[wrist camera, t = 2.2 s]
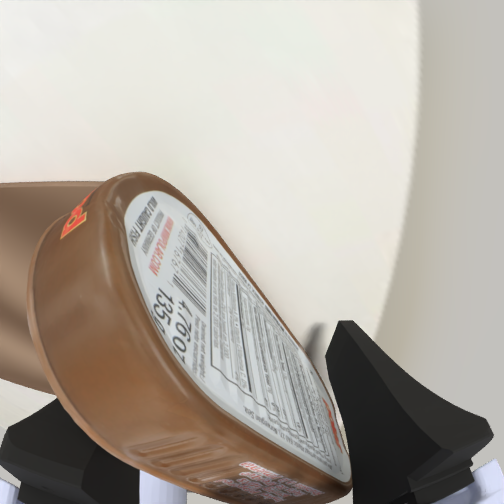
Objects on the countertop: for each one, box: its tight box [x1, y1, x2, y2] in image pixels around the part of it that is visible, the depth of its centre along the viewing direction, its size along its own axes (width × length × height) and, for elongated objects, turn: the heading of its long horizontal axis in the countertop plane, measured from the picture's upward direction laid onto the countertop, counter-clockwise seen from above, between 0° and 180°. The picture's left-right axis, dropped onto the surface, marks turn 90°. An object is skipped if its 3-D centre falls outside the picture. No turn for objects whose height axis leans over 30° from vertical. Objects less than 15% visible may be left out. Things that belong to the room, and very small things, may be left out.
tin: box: [26, 172, 353, 504], centre depth 10 cm, size 15×3×8 cm, turn 31°
